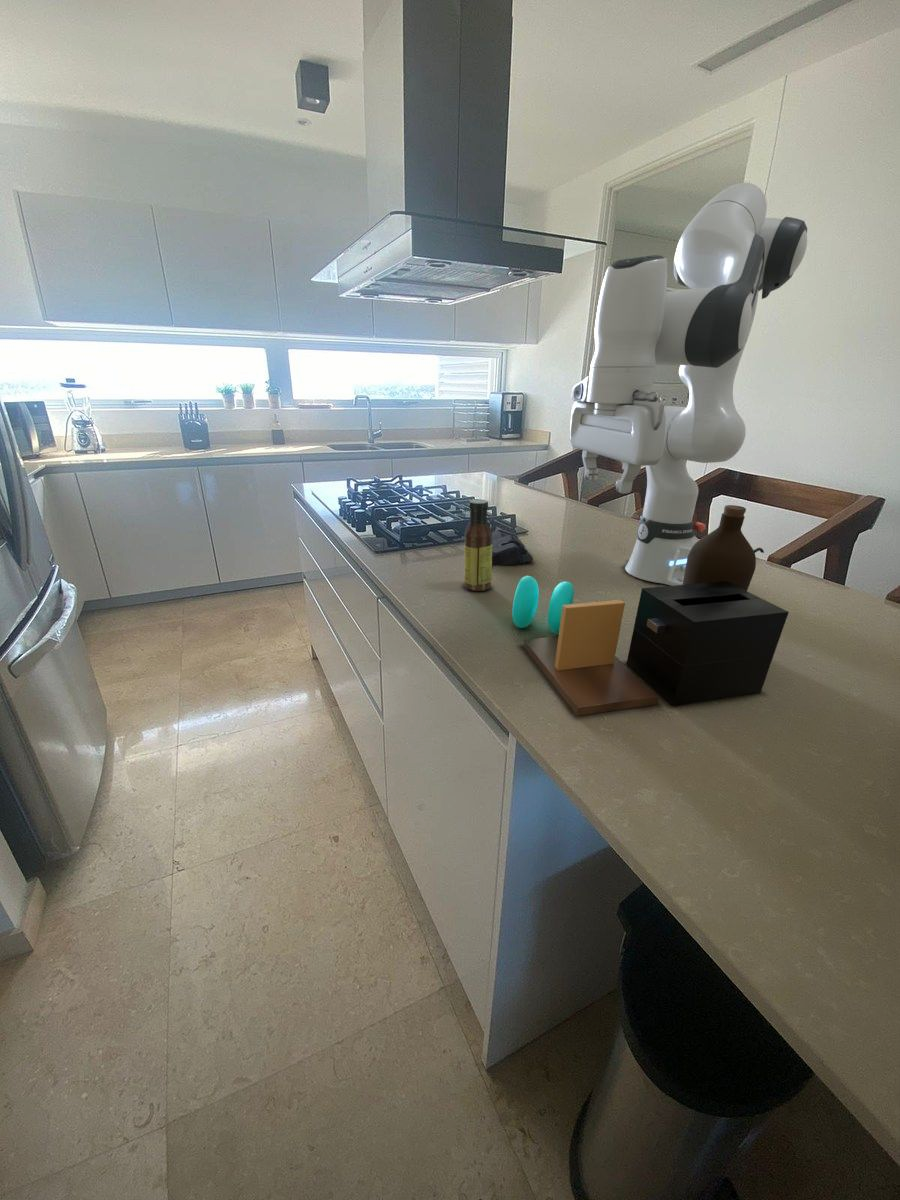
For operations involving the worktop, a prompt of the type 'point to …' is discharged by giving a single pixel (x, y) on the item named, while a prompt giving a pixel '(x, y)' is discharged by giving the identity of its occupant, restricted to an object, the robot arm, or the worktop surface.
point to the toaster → (704, 641)
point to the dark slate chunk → (508, 549)
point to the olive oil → (722, 553)
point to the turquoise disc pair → (528, 603)
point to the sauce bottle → (478, 548)
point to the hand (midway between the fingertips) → (605, 485)
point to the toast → (588, 634)
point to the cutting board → (591, 682)
